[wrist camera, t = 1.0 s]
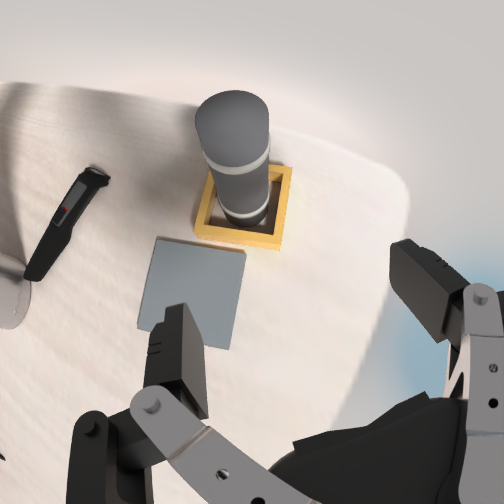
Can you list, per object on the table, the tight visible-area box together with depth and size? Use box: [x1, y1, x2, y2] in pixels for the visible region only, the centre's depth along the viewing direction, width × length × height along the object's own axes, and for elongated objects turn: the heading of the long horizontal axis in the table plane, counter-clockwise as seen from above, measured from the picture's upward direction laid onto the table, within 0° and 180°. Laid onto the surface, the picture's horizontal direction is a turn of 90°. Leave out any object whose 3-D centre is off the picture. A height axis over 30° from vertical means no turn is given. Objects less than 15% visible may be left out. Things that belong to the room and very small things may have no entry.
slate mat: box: [137, 239, 247, 350], centre depth 28 cm, size 9×9×1 cm
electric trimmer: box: [23, 167, 111, 282], centre depth 30 cm, size 4×16×3 cm, turn 149°
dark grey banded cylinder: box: [195, 90, 270, 227], centre depth 24 cm, size 5×5×14 cm
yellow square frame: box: [193, 164, 292, 251], centre depth 30 cm, size 8×8×2 cm
